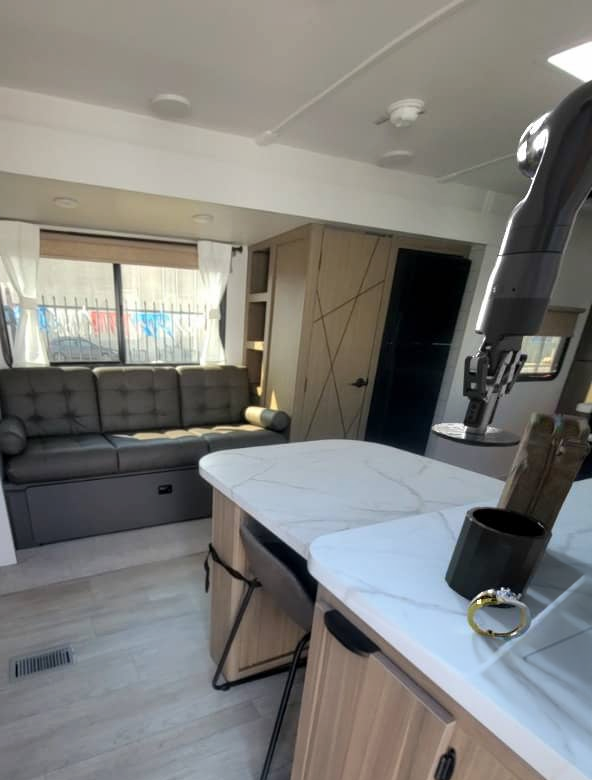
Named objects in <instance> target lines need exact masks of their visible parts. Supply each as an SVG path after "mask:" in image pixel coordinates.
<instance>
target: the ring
mask: <svg viewBox="0 0 592 780" xmlns="http://www.w3.org/2000/svg"><path fill="white" fill-rule="evenodd" d="M489 596H491V597H497V599H495V598H490V599H485V598H487V597H489ZM520 597H521V594H518V596H516V595H515V594H514V593H513V592H511V591H510V588H507V589H504V588H503V587H501V588H496V589H491V590H487V591H484V592H482V593H480V594H479V595H477V596H476V597H475V598H474V599H473V600H472V601H471V600H470V603H468V606H467V610H466V619H467V622H468V625H469V626H470V628H471V629H472V630H473V631H474V632H475V633H477V634H480V635H482V636H486V637H489V638H493V639H496V640H500V641H503V642H505V641H510V640H511V641H512V640H515V639H518V638H519V637H522V636H523V635H525V634H526V633H527V632H528V631H529V629H530V628H531V624H532V614H531V610H530V608H529V607H528V606H527V605H526V604H525V603H524V601H523V600H522V601H521V600H520V599H519V598H520ZM500 603H507V604H512V605H516V606H517V608H518V609H519V610H520V612H521V615H522V618H521V622H520V623H519V625H518V626H517V627H516V628H515V629H513V630H511V631H508V632H502V633H499V632H494V630H491V629H484V628H482V627H480V625H478V624H477V623H476V621H475V620H474V615H475V613H476V612H477V611H478V610H479V609H482V608H484V607H488V605H493V604H500Z"/></svg>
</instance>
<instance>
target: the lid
mask: <svg viewBox="0 0 592 780" xmlns="http://www.w3.org/2000/svg"><path fill="white" fill-rule="evenodd" d="M497 396H498V392H495V391H492V393H491V396H490V399H489V401H488V404H487V408H486V411H485V414H484V417H483V420H482V423H481V426H480V427H477V428H472V427H468V426H465V425H464V424H463V423H462V422H443V423H437V424H434V425H432V426H431V430H430V432H431V433H432V434H433V435H434V436H436V437H438V438H441V439H444V440H448V441H450V442H453V443H457V444H460V445H465V446H471V447H478V448H479V447H480V448H506V447H509V448H511V447H515V446H518V445H520V444H521V441H522V438H521V436H520V435H518V434H516V433H515V432H511V431H508V430H506V429H501V428H498V427H493V426H489V425H488V424H489V420H490V417H491V414H492V411H493V408H494V405H495V402H496V399H497Z"/></svg>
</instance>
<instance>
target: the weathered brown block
mask: <svg viewBox="0 0 592 780" xmlns="http://www.w3.org/2000/svg"><path fill="white" fill-rule="evenodd" d="M591 432H592V430H591V426H590V424H589V421H588V419H587V418H586V417H585V416H584V417H583V416H578V415H569V414H563V415H562V414H561V413H559V414H557V413H554V412H546V411H545V412H544V411H534V412H533V413H532V414H531V415H530V417H529V420H528V423H527V425H526V428H525V431H524V434H523V436H522V438H521V440H520V443H519V447H518V448H517V452H516V454H515V456H514V460H513V462H512V464H511V467H510V470H509V473H508V475H507V478H506V481H505V484H504V486H503V489H502V491H501V493H500V496H499V500H498V502H497V505H496V507H495V508H502V509H507V510H511V511H516V512H519V513H522V514H525V515H528V516H530V517H533V518H535V519H537V520H539V521H541V522H543V523H544V524H545V525H547V526H548V527H549V528H550V529H551V531H553V528H554V526H555V524H556V522H557V519H558V516H559V514H560V511H561V509H562V507H563V505H564V503H565V502H566V499H567V497H568V495H569V494H570V491H571V489H572V487H573V485H574V484H573V483H574V481H575V480H576V478H577V476H578V474H579V471H580V469H581V467H582V464H583V463H584V461H585V459H586V457H588V456H589V454H590V453H591V450H592V444H590V443H589V442H588V440H589V437H590V434H591Z"/></svg>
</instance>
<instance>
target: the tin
mask: <svg viewBox="0 0 592 780" xmlns="http://www.w3.org/2000/svg"><path fill="white" fill-rule="evenodd" d="M552 531H553V530H552ZM552 531H551V529H550V528H549V527H548V526H547V525H545V524H544V523H543V522H541V521H539V520H537V519H535V518H533V517H530V516H528V515H525V514H522V513H519V512H516V511H511V510H507V509H502V508H496V507H493V506H473V507H472V508H470V509H467V510H466V514H465V517H464V519H463V522H462V526H461V528H460V531H459V533H458V537H457V540H456V543H455V545H454V549H453V550H452V551H453V552H452V554H451V556H450V560H449V563H448V566H447V569H446V572H445V576H444V580H445V582H446V584H447V585H448V587H449V588H450V589H451V590H453V591H454V592H455V593H456V594H458V595H459V596H461V597H463V598H465V599H466V600H469V601H470V602H471V601H472V600H473V599H474V598H475V597H476V596H477V595H479V594H480V593H482V592H484V591H487V590H491V589H496V588H501V587H503V588H504V589H507V588H510V591H511V592H513V593H514V594H515V595H516V596H518V594H521V597H520V598H519V599H520V600H521V601H522V602H523V600H524V598H525V597H526V594H527V591H528V589H529V588H530V585H531V582H532V581H533V578H534V577H535V574H536V572H537V570H538V567H539V565H540V564H541V562H542V559H543V557H544V555H545V552H546V550H547V548H548V546H549V544H550V542H551V540H552V537H553V532H552ZM490 598H495V599H497V597H491V596H489V597H487V598H485V599H490ZM487 607H488V608H495V609H503V610H505V609H506V610H507V609H512V608H518V606H516V605H512V604H507V603H500V604H493V605H488V606H487Z"/></svg>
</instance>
